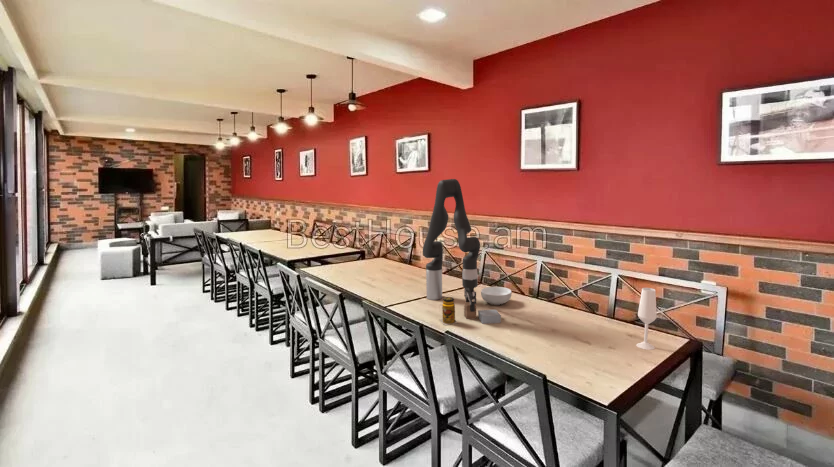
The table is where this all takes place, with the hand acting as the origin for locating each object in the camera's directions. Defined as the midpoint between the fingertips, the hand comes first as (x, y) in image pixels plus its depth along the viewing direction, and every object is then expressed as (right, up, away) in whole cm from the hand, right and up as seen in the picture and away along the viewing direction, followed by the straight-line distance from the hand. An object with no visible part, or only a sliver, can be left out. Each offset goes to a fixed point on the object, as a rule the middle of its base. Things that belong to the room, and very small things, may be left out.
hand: (470, 308), depth 209 cm
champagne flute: (+67, -9, -38) cm, 78 cm away
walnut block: (0, -4, +1) cm, 4 cm away
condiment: (-11, -6, -5) cm, 13 cm away
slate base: (+9, -5, -4) cm, 11 cm away
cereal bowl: (+17, -1, +23) cm, 29 cm away
